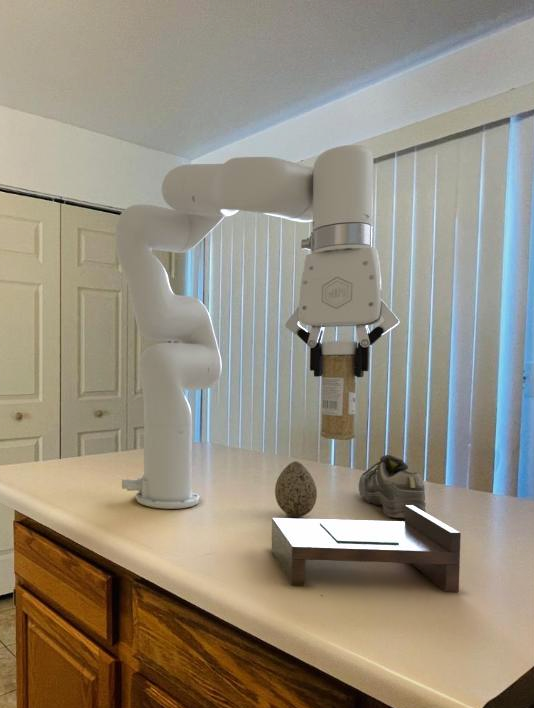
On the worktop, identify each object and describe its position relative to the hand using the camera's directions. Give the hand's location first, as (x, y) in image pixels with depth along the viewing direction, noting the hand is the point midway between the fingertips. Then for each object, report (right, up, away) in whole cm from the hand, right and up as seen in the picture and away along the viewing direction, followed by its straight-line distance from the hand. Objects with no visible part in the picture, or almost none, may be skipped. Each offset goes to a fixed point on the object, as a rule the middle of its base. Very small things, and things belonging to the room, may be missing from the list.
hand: (338, 375), depth 72 cm
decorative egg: (+2, -25, +23) cm, 34 cm away
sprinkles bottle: (0, -9, 0) cm, 9 cm away
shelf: (+2, -26, -2) cm, 27 cm away
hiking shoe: (+23, -25, +29) cm, 44 cm away
